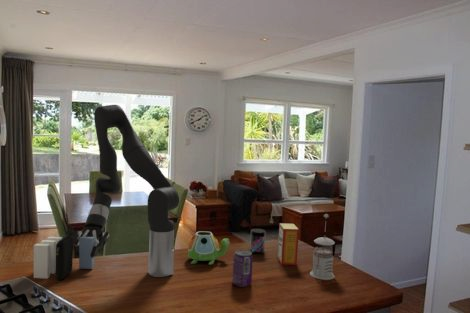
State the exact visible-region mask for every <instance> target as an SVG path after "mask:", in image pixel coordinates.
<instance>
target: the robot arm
mask: <svg viewBox="0 0 470 313" xmlns="http://www.w3.org/2000/svg"><path fill="white" fill-rule="evenodd" d="M93 115H94V116H93V118H94V119H93V120H94V121H93V122H94V127H95V133H96V139H97V144H98V152H99V173H100V174H102V175H104V176H99V177H98V178H97V179H96V181H95V194H94V200H93V203H92V205H91V208H90V210H89V212H88V216H87V218H86V221H85V224H84V227H83V229H82V230H76V229H75V230H74V231H73V232H74V233H73V235H74V236H73V246H75V247H76V249H75V256H76V257H77V258H79V238H80V237H81V235H82V236H85V237H94V247H93V249H92V251H91V254H90V256H91V258H94V259H95V257H96V255H97V253H98V250H99V249H103V248H104V247H105V245H106V243H107V242H108V240H109V238H110V236H111V235H110V233H109V232H108V231H104V230H105V227H106V224H107V220H108V218H109V217H108V216H109V211H110V209H111V205H112V202H113V200H112V197H111V196H110V195H116V194H118V193H120V191H121V189H122V183H121V180H120V175H119V173H118V156H117V152H116V150H115V148H114V147H113V144H112V143H111V141H110V140H109V137H108V130H109V129H111V128H117V129H118V131H119V133H120V134H121V137H122V145H121V150H122V151H121V154H122V156H123V159H124V161H125V162H126V163H127V165H128V167H129V168H130V170H131V171H132V172H134V173H135V174H136V175H137V176H139V177H140V178H142V179H143V180H144V181H146V182H148V184H149V185H150V187H152V189H153V190H151V191H150V192H149V194H148V196H147V222H148V224H149V238H148V239H149V241H148V244H149V246H148V269H147V270H148V272H147V273H148V275H149V276H151V277H155V278H164V277H168V276H173V275H174V260H175V259H174V258H175V257H174V256H175V252H174V251H175V250H174V245H175V244H174V240H175V239H174V238H175V222H174V221H173V220H171V219H169V211H173V210H175V209H176V208H177V207H178V206H179V204H180V196H179V193H178V191H177V190H176V188H175V187H174V186H173V185H172V183H171V182H170V181H169V180H168V178H167V177H166V176H165V175H164V174H163V172H162V171H161V169H160V167H159V166H158V165H157V163H156V162H155V161H154V160H153V157H152V155H151V154H150V153H149V151H148V149H147V147H146V146H145V145H144V143H143V142H142V141H141V139H140V137H139V136H138V134H137V133H136V131H135V129H134V127H133V126H132V123H131V122H130V119H129V118H128V116H127V114H126V112H125V110H124V109H123V107H121V106H120V105H118V104H110V105H108V104H107V105H101V106H98V107H96V108H95V110H94V113H93ZM108 194H110V195H108ZM100 238H101V240H100V241H99V239H100Z"/></svg>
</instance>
